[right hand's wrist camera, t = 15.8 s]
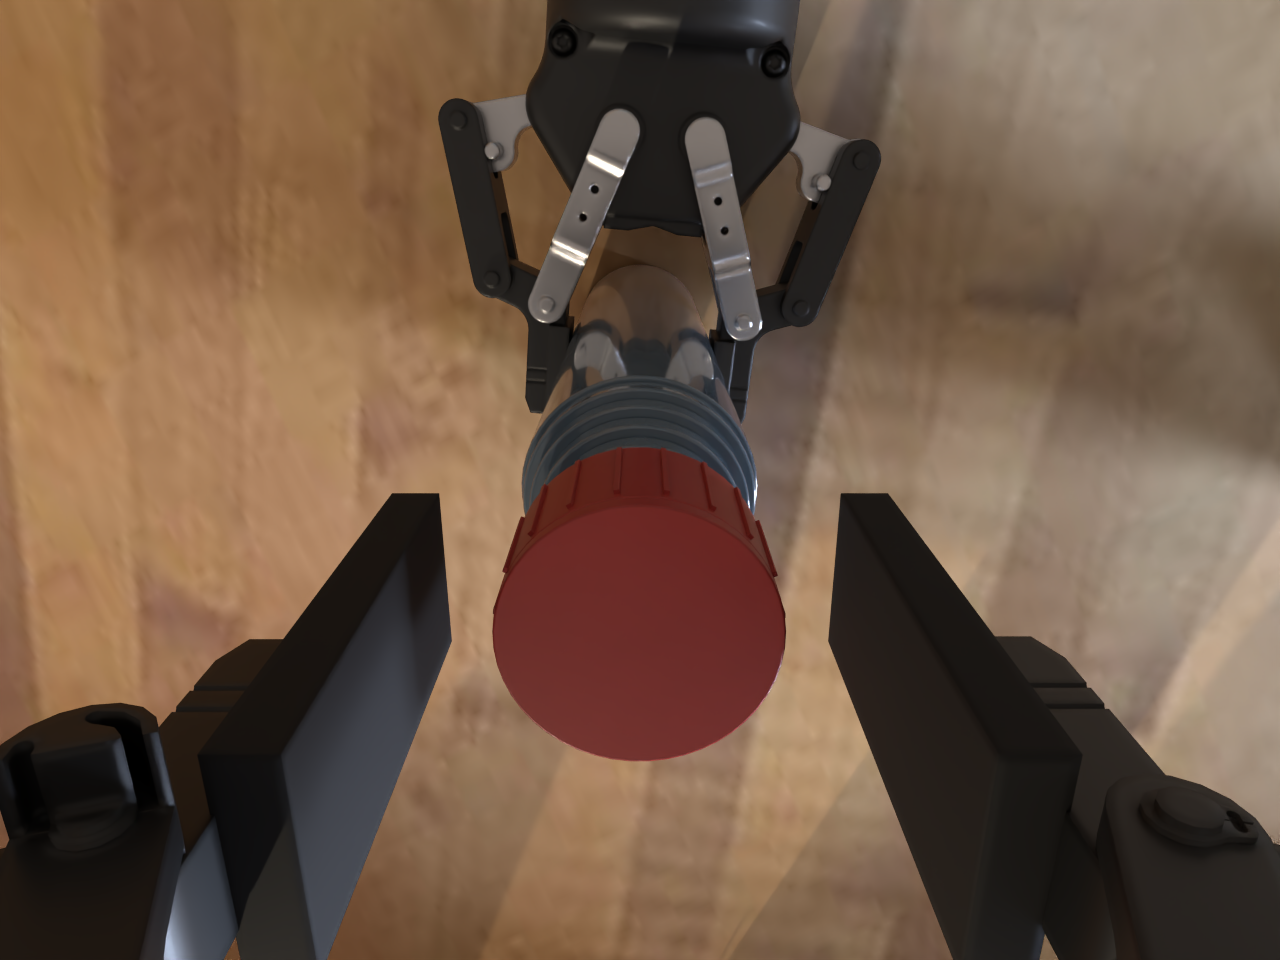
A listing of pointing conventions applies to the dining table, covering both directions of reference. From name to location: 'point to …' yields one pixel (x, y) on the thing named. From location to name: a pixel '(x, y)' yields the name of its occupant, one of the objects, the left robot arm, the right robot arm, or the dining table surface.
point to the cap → (639, 607)
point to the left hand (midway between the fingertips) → (633, 430)
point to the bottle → (639, 386)
